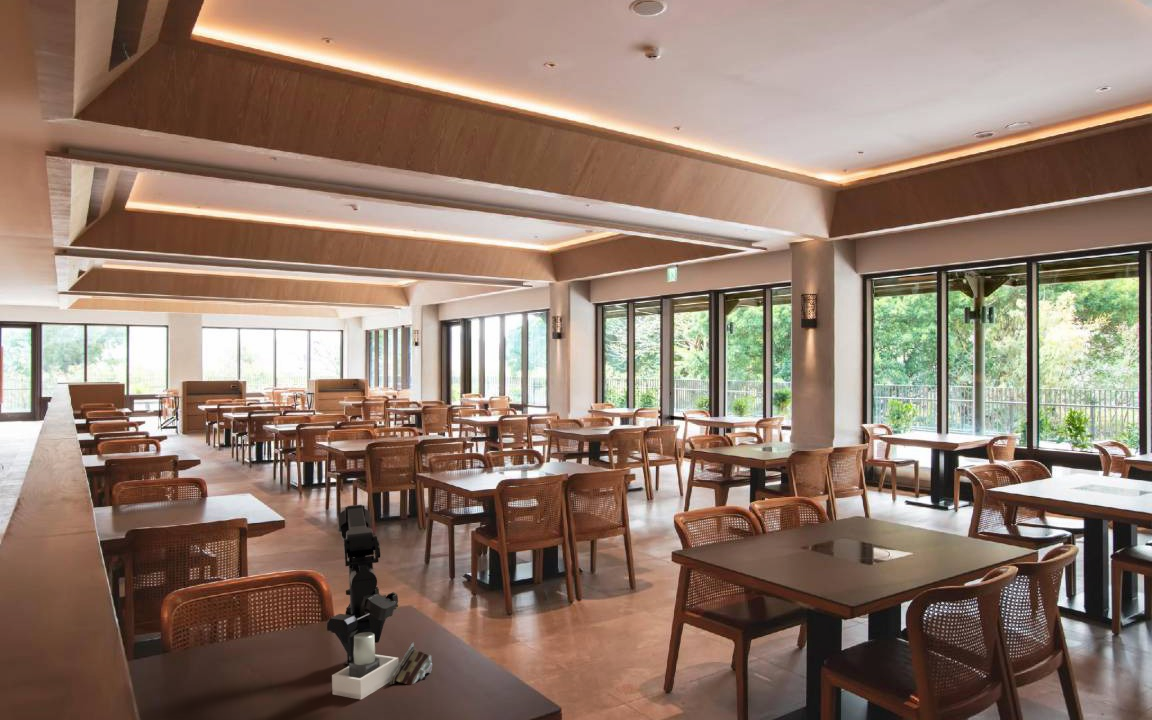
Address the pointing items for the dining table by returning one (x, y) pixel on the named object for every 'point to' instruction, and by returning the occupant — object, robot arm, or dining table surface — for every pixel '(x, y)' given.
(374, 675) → the tote
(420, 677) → the chocolate cake
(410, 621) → the dining table surface
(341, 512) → the robot arm
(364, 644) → the white pillar candle
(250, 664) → the dining table surface
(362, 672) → the iron block
